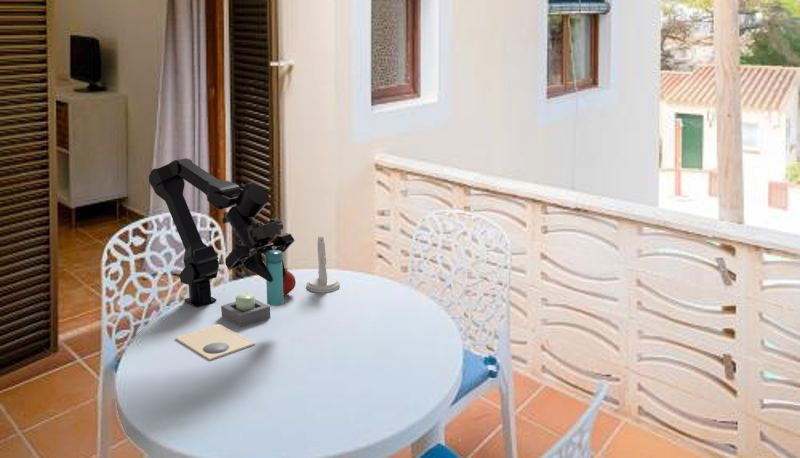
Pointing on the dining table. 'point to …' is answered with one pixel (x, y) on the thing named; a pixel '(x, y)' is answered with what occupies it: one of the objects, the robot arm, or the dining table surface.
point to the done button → (245, 302)
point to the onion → (288, 282)
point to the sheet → (214, 341)
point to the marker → (274, 277)
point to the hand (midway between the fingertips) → (278, 278)
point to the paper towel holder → (322, 273)
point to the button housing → (245, 313)
